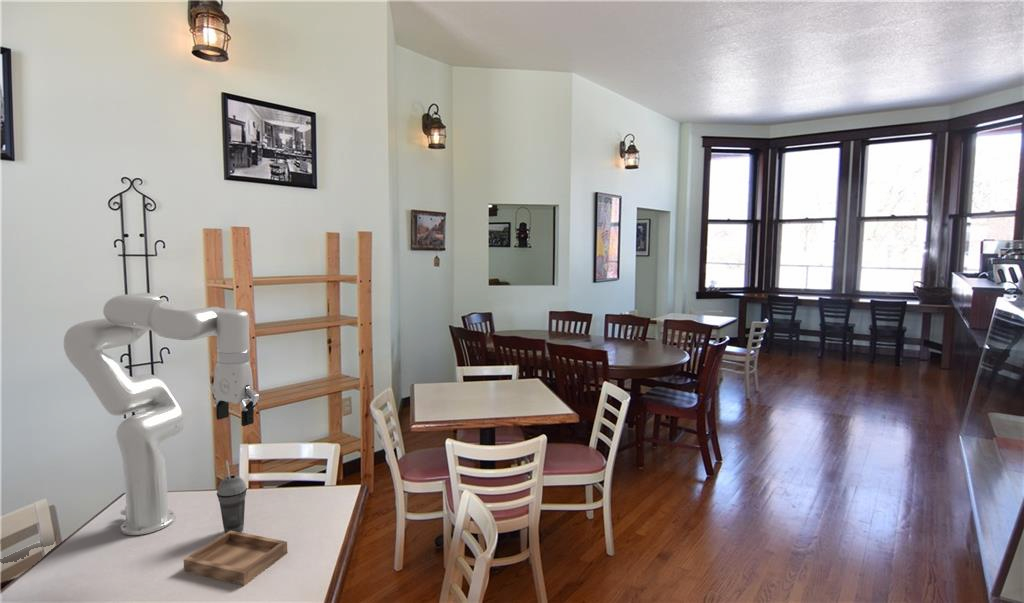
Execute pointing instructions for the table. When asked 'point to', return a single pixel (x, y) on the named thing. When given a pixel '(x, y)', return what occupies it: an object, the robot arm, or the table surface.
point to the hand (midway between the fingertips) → (235, 421)
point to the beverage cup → (232, 502)
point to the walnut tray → (235, 557)
